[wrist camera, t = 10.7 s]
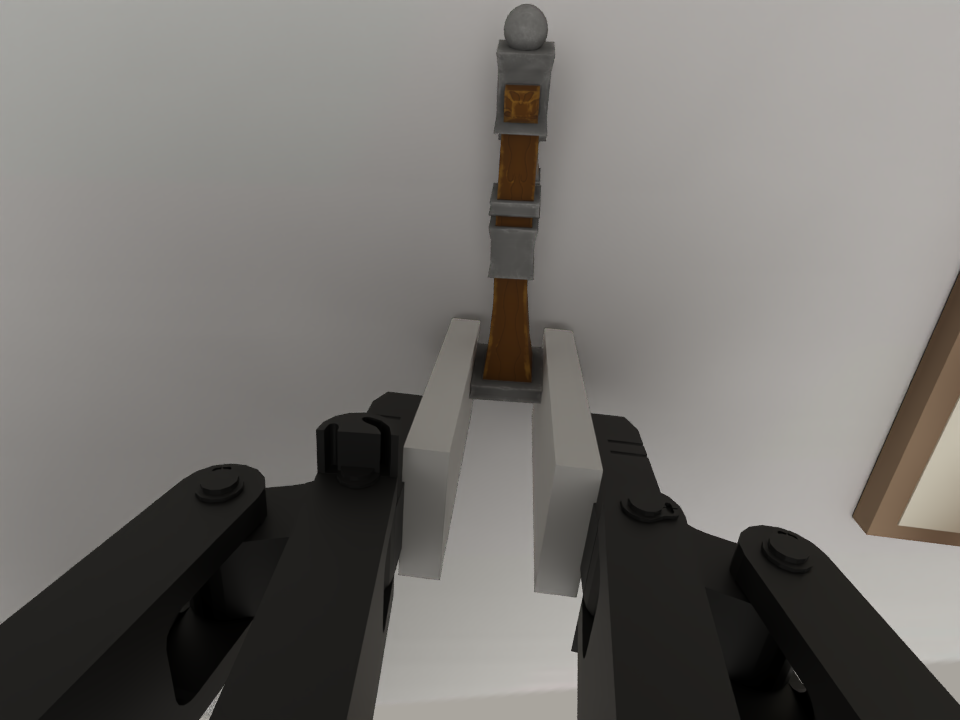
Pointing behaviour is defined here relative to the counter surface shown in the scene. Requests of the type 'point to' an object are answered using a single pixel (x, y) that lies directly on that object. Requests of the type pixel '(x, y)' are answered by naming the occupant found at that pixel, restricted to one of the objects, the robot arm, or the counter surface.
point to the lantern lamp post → (516, 210)
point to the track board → (922, 449)
